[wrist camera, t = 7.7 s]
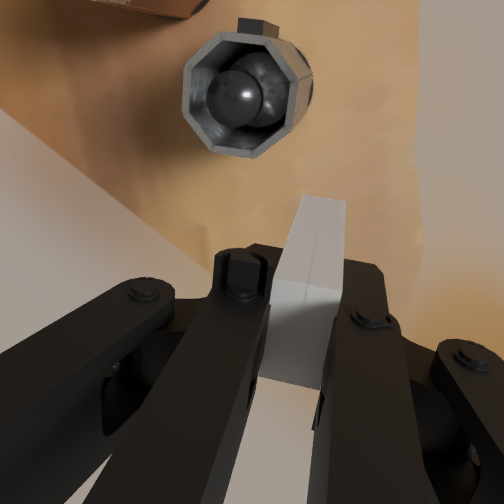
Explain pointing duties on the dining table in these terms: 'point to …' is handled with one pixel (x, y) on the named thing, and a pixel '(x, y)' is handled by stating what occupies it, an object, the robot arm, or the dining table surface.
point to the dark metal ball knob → (249, 92)
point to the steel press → (221, 60)
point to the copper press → (160, 7)
